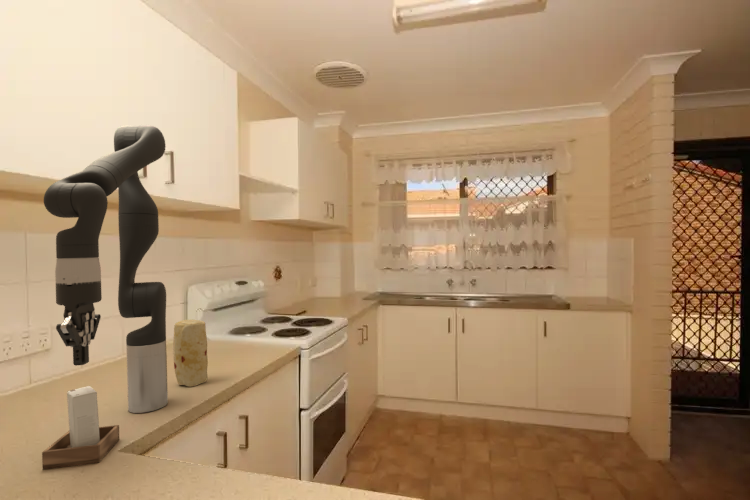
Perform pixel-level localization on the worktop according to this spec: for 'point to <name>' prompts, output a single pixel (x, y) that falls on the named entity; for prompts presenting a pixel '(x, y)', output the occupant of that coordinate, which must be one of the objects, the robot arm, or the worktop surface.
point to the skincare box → (83, 417)
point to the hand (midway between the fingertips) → (81, 364)
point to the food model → (190, 352)
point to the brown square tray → (79, 450)
